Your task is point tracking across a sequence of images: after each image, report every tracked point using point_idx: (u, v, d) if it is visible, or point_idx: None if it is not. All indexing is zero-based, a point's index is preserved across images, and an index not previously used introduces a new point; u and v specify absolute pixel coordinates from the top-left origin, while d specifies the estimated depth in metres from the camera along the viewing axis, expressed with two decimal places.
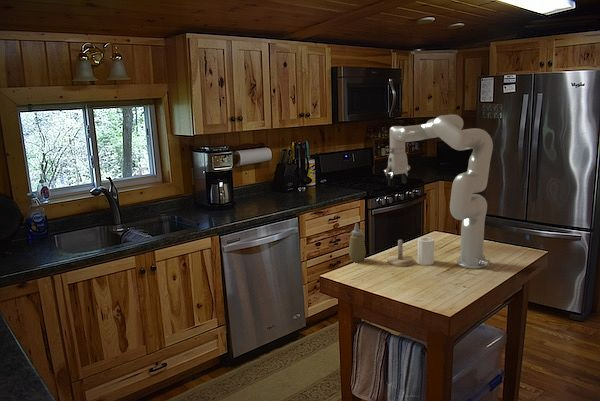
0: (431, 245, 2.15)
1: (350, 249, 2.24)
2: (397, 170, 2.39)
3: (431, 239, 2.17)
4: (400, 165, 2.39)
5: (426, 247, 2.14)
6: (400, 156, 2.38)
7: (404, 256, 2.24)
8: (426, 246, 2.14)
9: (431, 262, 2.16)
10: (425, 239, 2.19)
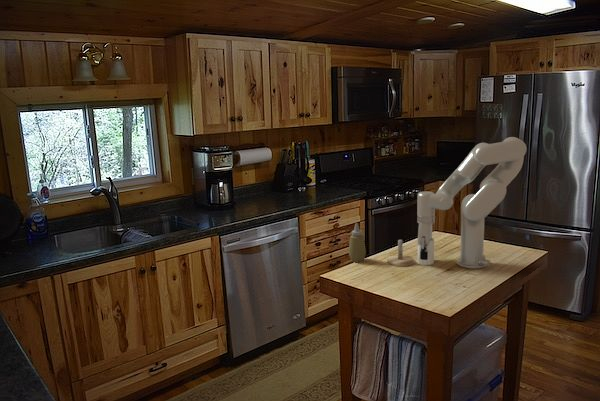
0: (431, 245, 2.15)
1: (350, 249, 2.24)
2: None
3: (431, 239, 2.17)
4: None
5: None
6: None
7: (404, 256, 2.24)
8: None
9: (431, 262, 2.16)
10: None
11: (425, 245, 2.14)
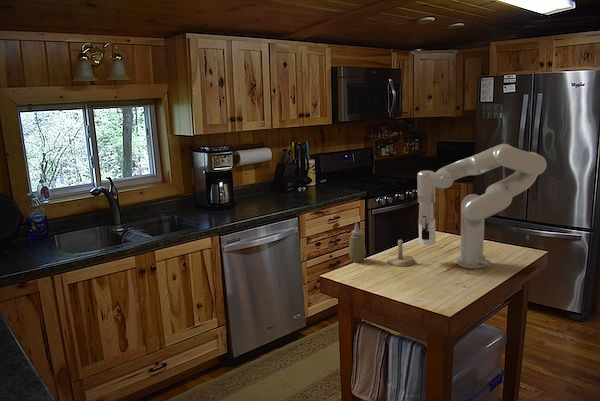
0: (432, 225, 2.13)
1: (350, 249, 2.24)
2: None
3: (432, 219, 2.15)
4: None
5: None
6: None
7: (404, 256, 2.24)
8: None
9: (432, 242, 2.14)
10: None
11: (426, 225, 2.12)
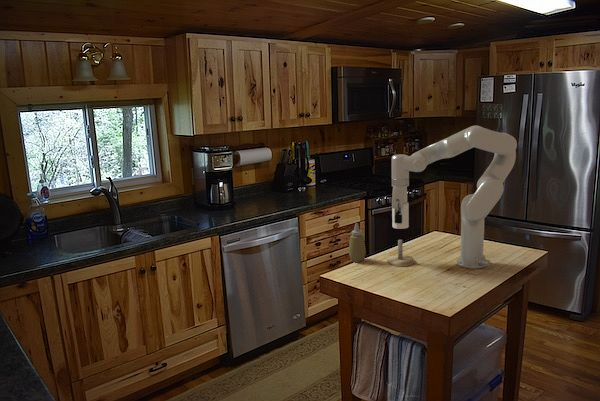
0: (405, 208, 2.13)
1: (350, 249, 2.24)
2: None
3: (406, 203, 2.15)
4: None
5: None
6: None
7: (404, 256, 2.24)
8: None
9: (405, 226, 2.15)
10: None
11: (399, 208, 2.12)
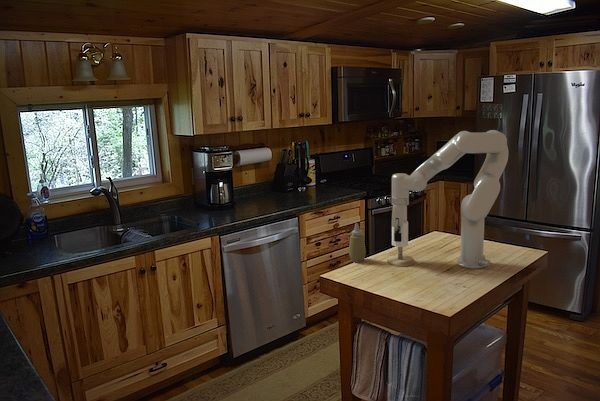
0: (405, 227, 2.15)
1: (350, 249, 2.24)
2: None
3: (405, 221, 2.17)
4: None
5: None
6: None
7: (404, 256, 2.24)
8: None
9: (405, 244, 2.17)
10: None
11: (399, 227, 2.14)
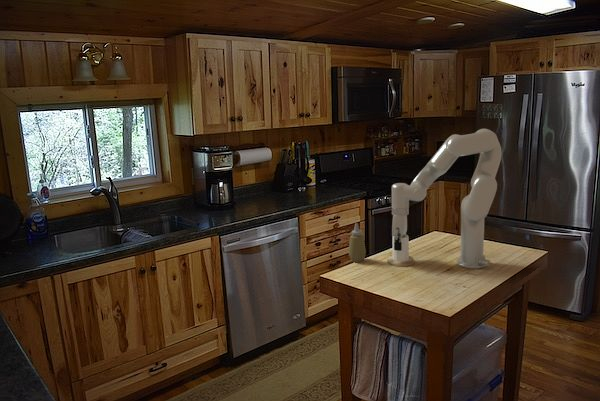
0: (405, 242, 2.16)
1: (350, 249, 2.24)
2: None
3: (406, 236, 2.18)
4: None
5: None
6: None
7: None
8: None
9: (405, 259, 2.18)
10: None
11: (399, 236, 2.14)
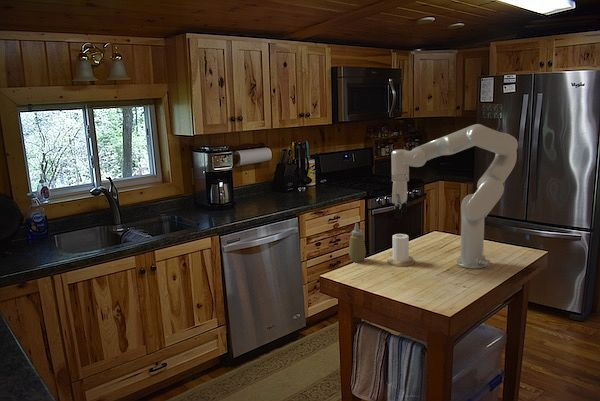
0: (405, 242, 2.16)
1: (350, 249, 2.24)
2: None
3: (406, 236, 2.18)
4: None
5: (400, 244, 2.16)
6: None
7: None
8: (400, 243, 2.16)
9: (405, 259, 2.18)
10: (400, 236, 2.21)
11: (399, 202, 2.11)
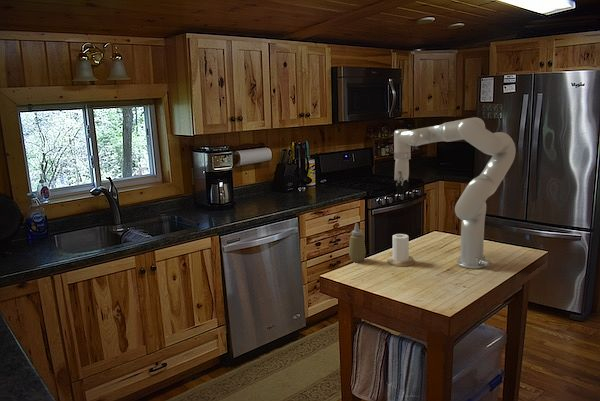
0: (405, 242, 2.16)
1: (350, 249, 2.24)
2: None
3: (406, 236, 2.18)
4: None
5: (400, 244, 2.16)
6: None
7: None
8: (400, 243, 2.16)
9: (405, 259, 2.18)
10: (400, 236, 2.21)
11: (401, 179, 2.23)
